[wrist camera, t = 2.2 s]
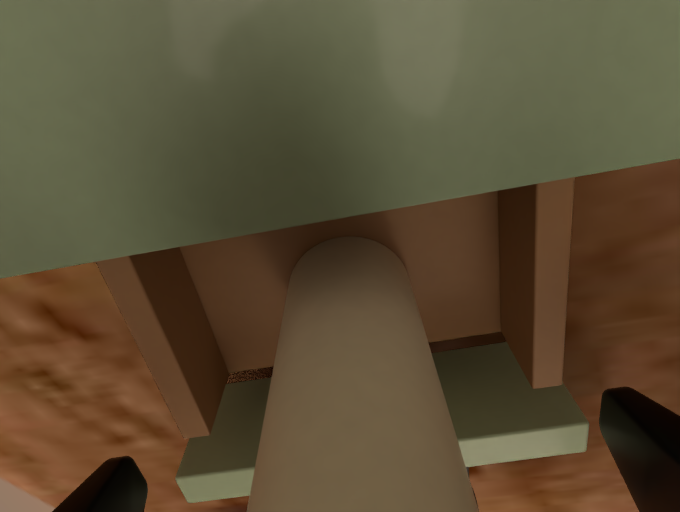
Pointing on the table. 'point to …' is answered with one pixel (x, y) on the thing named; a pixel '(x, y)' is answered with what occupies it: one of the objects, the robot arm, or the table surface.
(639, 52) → the cabinet
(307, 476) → the lotion bottle
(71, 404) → the table surface
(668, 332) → the table surface
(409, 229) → the drawer
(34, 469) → the table surface
